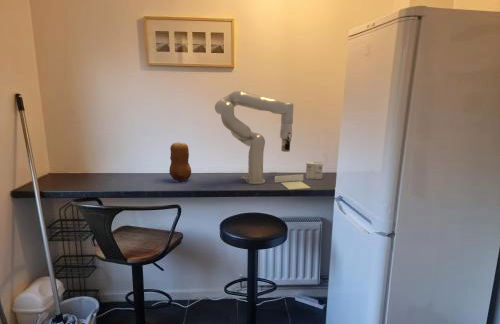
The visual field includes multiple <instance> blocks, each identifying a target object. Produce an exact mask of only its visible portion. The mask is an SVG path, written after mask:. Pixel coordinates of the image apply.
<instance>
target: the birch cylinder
mask: <svg viewBox="0 0 500 324" xmlns="http://www.w3.org/2000/svg"><path fill="white" fill-rule="evenodd" d="M287 141H288V140H287ZM285 144H286V140H285V139H282V138H281V152H282V153H283V152H288V153H289V152H290V151H291V149H290V150H285Z"/></svg>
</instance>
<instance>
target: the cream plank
mask: <svg viewBox="0 0 500 324" xmlns="http://www.w3.org/2000/svg"><path fill="white" fill-rule="evenodd" d="M303 181H304V174H289V175H275V176H274V183H285V182H303Z"/></svg>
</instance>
